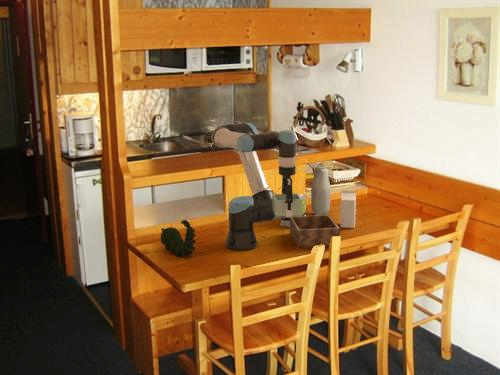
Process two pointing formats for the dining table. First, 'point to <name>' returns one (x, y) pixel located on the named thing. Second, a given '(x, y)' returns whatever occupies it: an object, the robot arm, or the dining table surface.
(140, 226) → the dining table surface
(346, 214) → the milk carton
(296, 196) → the small green crate
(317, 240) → the walnut crate
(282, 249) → the dining table surface
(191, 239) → the toy figurine
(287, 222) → the tea box
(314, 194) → the glass bottle
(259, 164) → the robot arm
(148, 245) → the dining table surface
